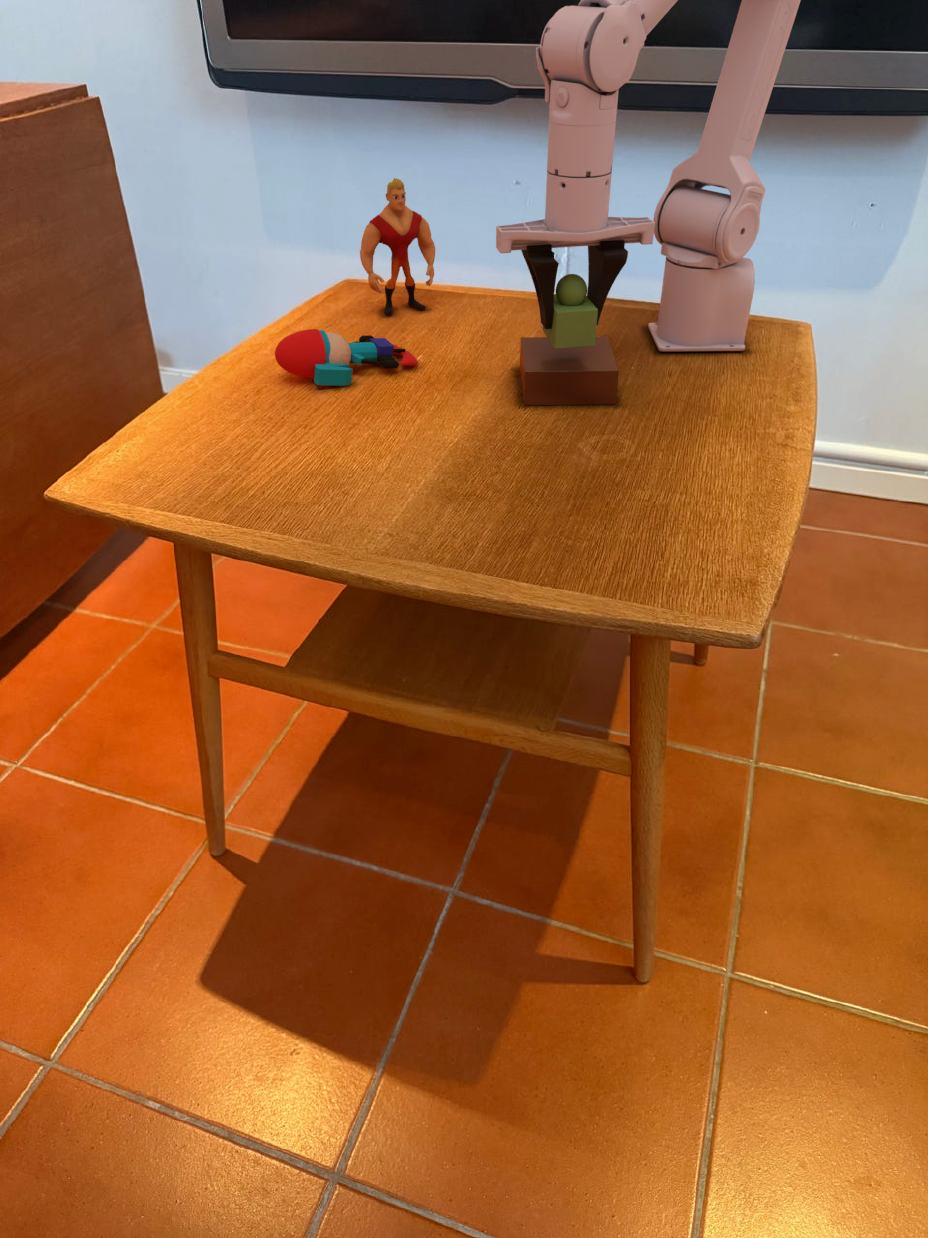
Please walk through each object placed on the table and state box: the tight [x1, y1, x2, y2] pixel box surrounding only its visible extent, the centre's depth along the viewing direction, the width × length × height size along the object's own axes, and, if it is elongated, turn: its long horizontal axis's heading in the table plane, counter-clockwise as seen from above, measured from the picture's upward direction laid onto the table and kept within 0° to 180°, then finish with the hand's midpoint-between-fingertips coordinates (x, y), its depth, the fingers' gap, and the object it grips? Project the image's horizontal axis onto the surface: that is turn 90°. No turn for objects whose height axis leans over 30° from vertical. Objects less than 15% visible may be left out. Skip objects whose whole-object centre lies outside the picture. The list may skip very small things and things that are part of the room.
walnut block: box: [519, 336, 620, 406], centre depth 89 cm, size 9×9×4 cm
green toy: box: [542, 273, 598, 349], centre depth 85 cm, size 4×5×6 cm
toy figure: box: [274, 328, 419, 387], centre depth 93 cm, size 8×5×15 cm
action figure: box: [359, 177, 436, 316], centre depth 104 cm, size 10×4×15 cm, turn 114°
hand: (569, 323), depth 86 cm, fingers closed on green toy, 4 cm apart
